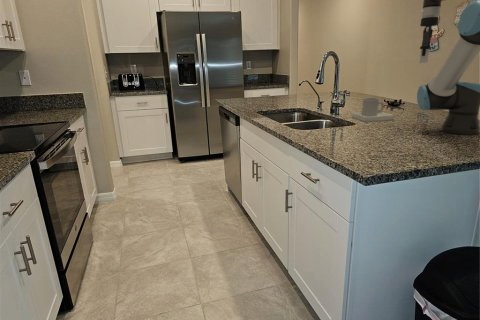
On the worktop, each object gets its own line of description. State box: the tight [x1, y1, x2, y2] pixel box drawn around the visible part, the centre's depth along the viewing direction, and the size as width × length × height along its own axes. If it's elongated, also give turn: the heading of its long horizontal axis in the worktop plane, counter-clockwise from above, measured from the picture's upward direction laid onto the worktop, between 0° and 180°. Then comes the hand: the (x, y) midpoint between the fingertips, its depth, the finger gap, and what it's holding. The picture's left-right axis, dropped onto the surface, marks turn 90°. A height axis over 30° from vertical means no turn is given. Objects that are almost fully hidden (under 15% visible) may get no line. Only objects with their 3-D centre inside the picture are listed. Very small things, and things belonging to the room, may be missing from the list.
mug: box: [361, 97, 384, 117], centre depth 184 cm, size 12×8×11 cm
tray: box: [351, 111, 395, 123], centre depth 186 cm, size 18×16×3 cm
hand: (423, 62), depth 160 cm, fingers open, 13 cm apart
